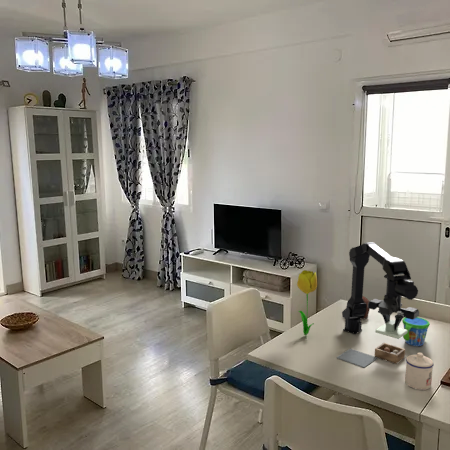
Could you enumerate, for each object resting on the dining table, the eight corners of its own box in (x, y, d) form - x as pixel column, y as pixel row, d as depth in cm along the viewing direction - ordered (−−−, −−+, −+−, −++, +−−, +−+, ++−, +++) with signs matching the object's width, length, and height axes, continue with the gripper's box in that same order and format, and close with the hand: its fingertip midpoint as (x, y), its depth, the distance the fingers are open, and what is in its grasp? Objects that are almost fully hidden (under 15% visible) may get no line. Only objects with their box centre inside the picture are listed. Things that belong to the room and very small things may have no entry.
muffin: (349, 310, 238) (349, 291, 236) (371, 313, 233) (372, 294, 232) (345, 318, 227) (346, 298, 225) (368, 321, 223) (369, 301, 221)
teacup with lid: (432, 392, 159) (434, 361, 157) (403, 387, 162) (406, 356, 160) (431, 376, 170) (433, 347, 168) (404, 372, 173) (407, 343, 171)
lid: (375, 332, 184) (375, 321, 183) (384, 326, 190) (385, 316, 189) (398, 339, 177) (399, 328, 177) (407, 332, 183) (408, 322, 183)
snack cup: (414, 334, 207) (416, 313, 205) (436, 343, 198) (438, 320, 196) (392, 343, 198) (393, 320, 197) (414, 352, 190) (415, 328, 188)
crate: (374, 356, 186) (374, 348, 185) (383, 350, 191) (383, 342, 191) (396, 364, 180) (396, 355, 179) (404, 357, 185) (405, 349, 185)
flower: (317, 334, 207) (320, 270, 202) (312, 341, 200) (314, 274, 195) (299, 331, 211) (301, 267, 206) (293, 337, 204) (295, 272, 199)
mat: (336, 358, 185) (336, 357, 185) (350, 349, 192) (350, 348, 192) (364, 367, 176) (364, 367, 176) (377, 358, 184) (377, 357, 184)
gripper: (362, 291, 181) (360, 328, 184) (409, 302, 169) (406, 342, 171) (375, 284, 189) (373, 321, 192) (421, 294, 176) (418, 333, 179)
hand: (391, 329), depth 183 cm, fingers closed on lid, 3 cm apart
